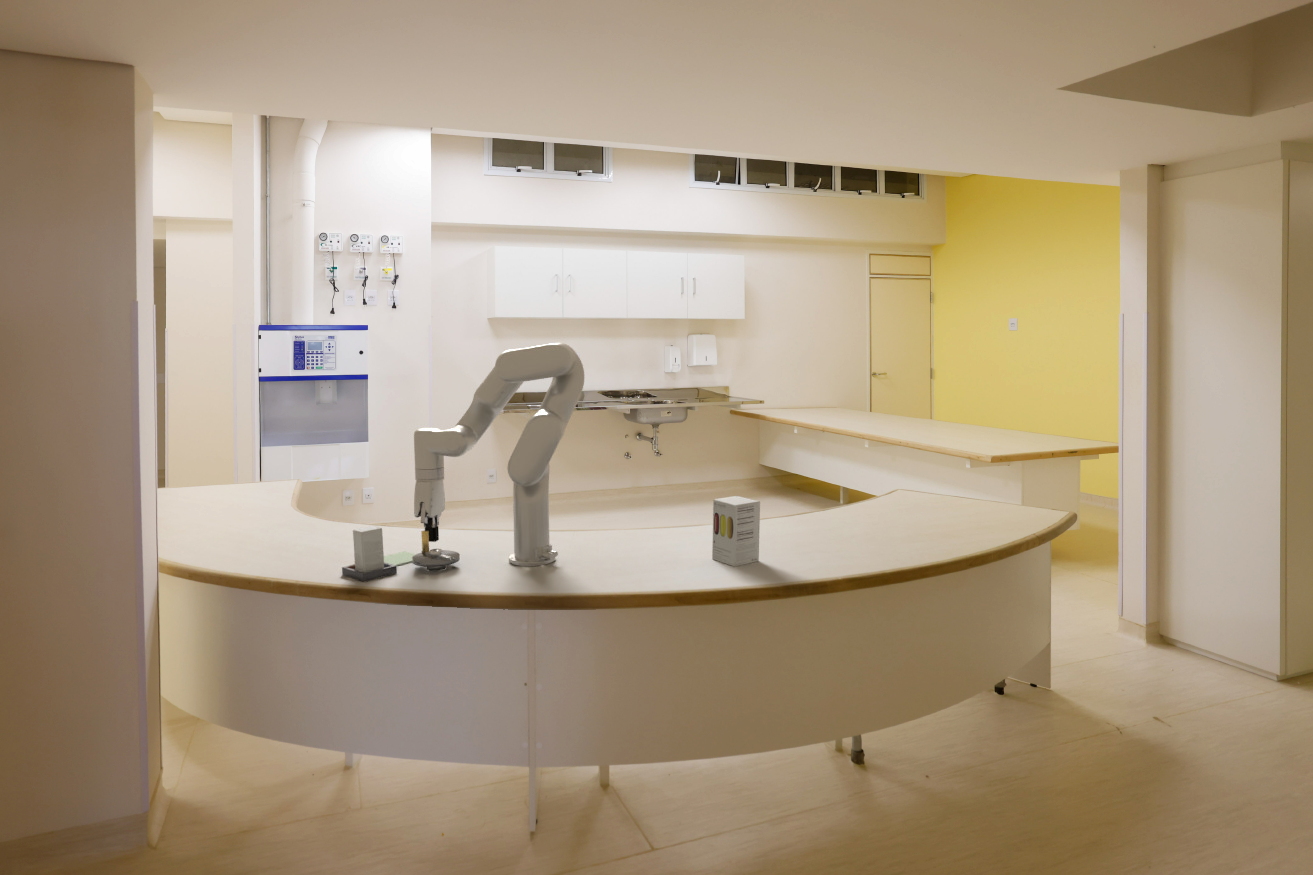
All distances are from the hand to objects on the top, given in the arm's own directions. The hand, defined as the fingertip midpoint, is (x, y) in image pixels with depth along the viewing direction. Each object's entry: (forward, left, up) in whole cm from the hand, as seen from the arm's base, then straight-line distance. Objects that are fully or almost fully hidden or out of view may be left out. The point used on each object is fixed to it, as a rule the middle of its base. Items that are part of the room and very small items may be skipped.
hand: (432, 540), depth 223 cm
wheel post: (-7, +4, -6) cm, 9 cm away
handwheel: (-7, +4, -4) cm, 8 cm away
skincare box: (+2, +18, -6) cm, 19 cm away
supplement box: (-64, -52, -6) cm, 83 cm away
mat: (+8, +5, -6) cm, 11 cm away
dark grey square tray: (+2, +18, -6) cm, 19 cm away
